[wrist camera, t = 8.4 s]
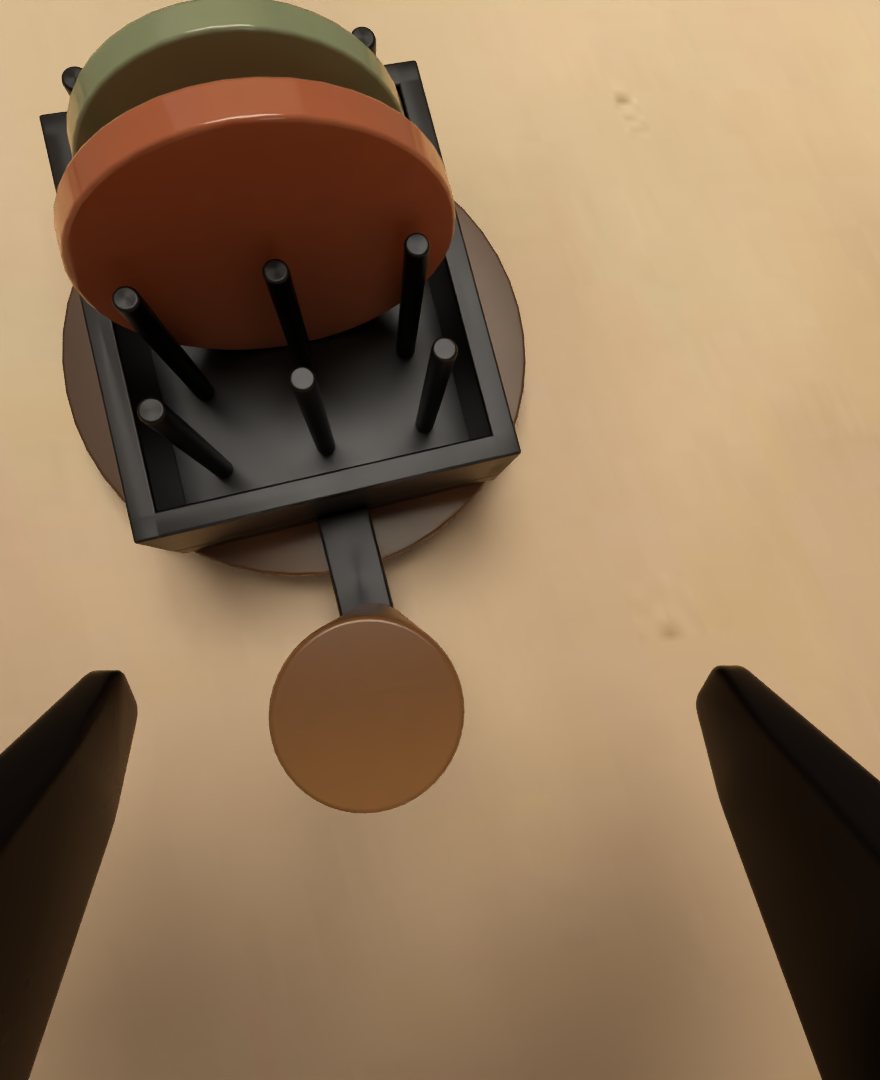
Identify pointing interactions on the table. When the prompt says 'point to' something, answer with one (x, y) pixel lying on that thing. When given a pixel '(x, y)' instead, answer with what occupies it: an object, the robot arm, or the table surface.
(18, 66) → the table surface
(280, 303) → the dish rack
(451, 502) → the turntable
